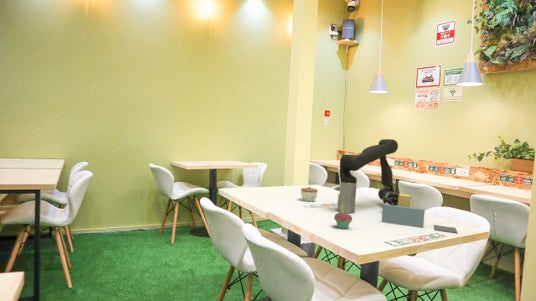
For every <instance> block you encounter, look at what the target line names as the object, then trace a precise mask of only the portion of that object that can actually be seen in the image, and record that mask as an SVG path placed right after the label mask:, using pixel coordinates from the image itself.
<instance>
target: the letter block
mask: <svg viewBox="0 0 536 301" xmlns="http://www.w3.org/2000/svg"><path fill="white" fill-rule="evenodd" d="M398 195H399V196H398V205H397V206H402V207H410V208H411V199H412V196H411V195H410V194H400V193H398Z"/></svg>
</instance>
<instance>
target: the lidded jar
mask: <svg viewBox="0 0 536 301" xmlns="http://www.w3.org/2000/svg"><path fill="white" fill-rule="evenodd" d="M300 190H301V191H300V195H301V198H302V199H303V201H304V202H309V203H312V202H314V201H315V200H316V198H317V197H318V196H317V195H318V189H316V188H312V187H311V186H308V187H303V188H301V189H300Z"/></svg>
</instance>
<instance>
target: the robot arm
mask: <svg viewBox="0 0 536 301" xmlns="http://www.w3.org/2000/svg"><path fill="white" fill-rule="evenodd" d="M398 148H399V144H398V141H396V140H395V139H391V138H390V139H389V138H388V139H387V138H386V139H385V138H384V139H380V140H379V141H378V143H377V144H375V145H371V146H369V147H368V146H367V147H365V148H364V149H363V150H362V152H361V154H346V153H345V154H343V155H341V157H340V160H339V178H340V180H339V181H340V183H339V194H337V209H336V210H337V211H338V212H339V213H341V212H342V203H343V212H345V213H348V214H355V211H356V197H357V196H356V195H357V182H358V180H357V177H356V176H354V175H353V174H352V173H351V172H357V171H359V170H360V169H362V168H363V167H364V166H367V165H368V164H370V163H371V164H372V163H373V162H375V161H377V160H379V162H380V169H381V170H380V174H381V175H380V177H381V178H380V179H381V180H380V181H381V182H380V183H381V185H382V186H386V187H388V188H380V189H378V191H377V192H378V198H379V199H380V200H381V201H382V202H383V204H387V205H394V206H398V196H399V193H396V191H395V188H394V182H393V179H394V178H393V169H392V168H391V166H390V164H389V162H388V160H387V155H391V154H395V153H396V152H397V151H398Z"/></svg>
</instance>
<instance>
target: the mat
mask: <svg viewBox="0 0 536 301" xmlns="http://www.w3.org/2000/svg"><path fill="white" fill-rule="evenodd" d="M433 229H434V231H437V232H444V233H445V232H446V233H451V234H452V233H453V234H458V230H457V228H456V227H452V226H443V225H436V224H433Z"/></svg>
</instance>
